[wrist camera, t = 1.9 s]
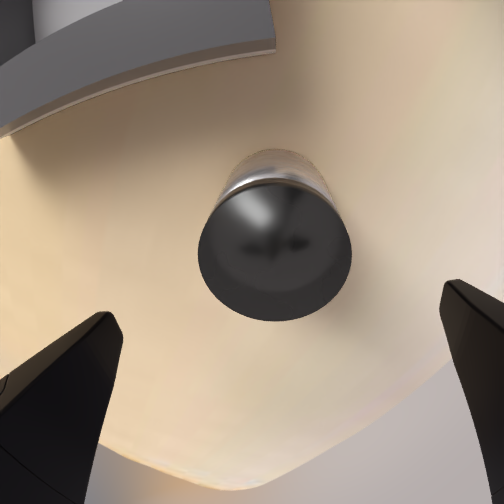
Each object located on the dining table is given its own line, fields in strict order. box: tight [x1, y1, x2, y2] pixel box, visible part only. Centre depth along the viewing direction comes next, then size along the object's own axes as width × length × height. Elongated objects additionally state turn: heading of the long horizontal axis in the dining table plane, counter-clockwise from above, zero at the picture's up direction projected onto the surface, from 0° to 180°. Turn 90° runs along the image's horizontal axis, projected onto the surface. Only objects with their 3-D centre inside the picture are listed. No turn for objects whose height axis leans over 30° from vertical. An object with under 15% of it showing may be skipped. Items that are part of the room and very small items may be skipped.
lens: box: [198, 149, 352, 321], centre depth 13 cm, size 5×5×6 cm
